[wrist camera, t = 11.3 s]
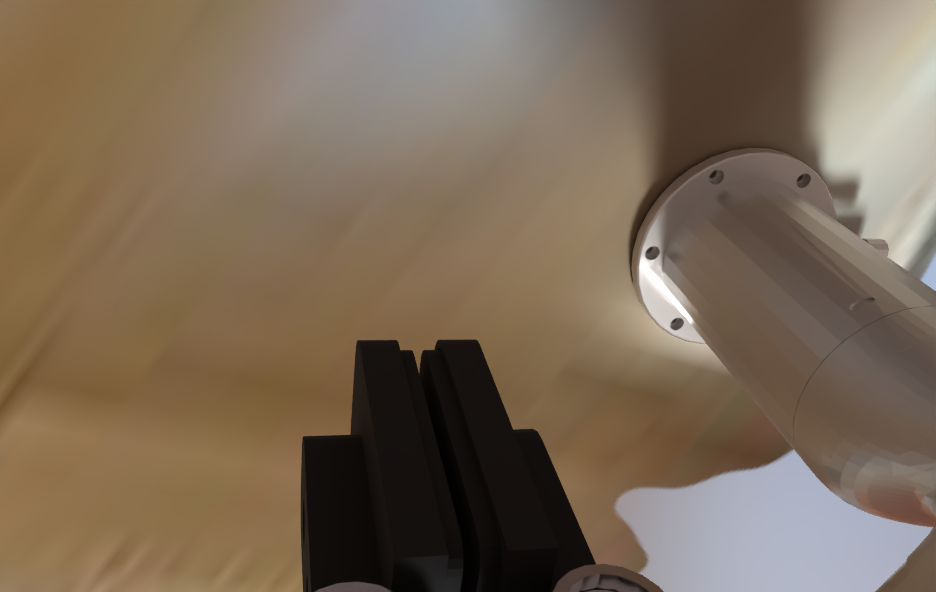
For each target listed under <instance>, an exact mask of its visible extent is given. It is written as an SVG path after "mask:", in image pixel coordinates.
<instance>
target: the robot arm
mask: <svg viewBox="0 0 936 592" xmlns="http://www.w3.org/2000/svg"><path fill="white" fill-rule="evenodd" d="M711 173H712V174H711ZM888 251H889V249H888V244H887V243H886V241H885V240H882V239H861V238H860V237H858V236H857V235H856V234H854V233H853V232H851V231H850V230H849V229H847V228H846V227H844V226H843V225H842V224H840V223H839V222H837V221H836V213H835V208H834V203H833V199H832V196H831V194H830V192H829V190H828V188H827V186H826V184H825V183H824V181H823V180H822V179H821V178H820V176H819V175H818V174H817V173H816V172H815V171H814V170H813V169H811V168H810V167H809V166H807V165H806V164H804V163H803V162H802V161H800V160H798V159H796V158H794V157H793V156H791V155H789V154H787V153H784V152H780V151H777V150H773V149H768V148H745V149H738V150H731V151H728V152H725V153H722V154H719V155H716V156H713V157H710V158H709V159H707V160H705V161H703V162H701V163H699V164H697V165H695V166H694V167H692V168H690V169H689V170H688V171H686V172H685V173H684V174H683V175H681V176H680V177H679V178H677V179H676V180H675V181H674V182H673V183H672V184H671V185H670V186H669V187H668V188H667V189H666V190H665V191H664V192H663V193H662V194H661V195H660V196H659V197H658V199H657V200H656V202H655V203H654V204H653V206H652V207H651V209H650V210H649V212H648V213H647V215H646V217H645V219H644V221H643V223H642V225H641V227H640V229H639V231H638V234H637V238H636V242H635V245H634V249H633V256H632V268H631V269H632V277H633V285H634V288H635V291H636V293H637V296H638V299H639V301H640V303H641V304H642V306H643V307H644V309H645V310H646V312H647V313H648V314H649V316H650V317H651V318H652V319H653V320H654V321H655V323H656V324H657V325H658V326H659V327H661V328H662V329H663V330H665V331H666V332H667V333H669V334H671V335H673V336H675V337H678V338H680V339H683V340H685V341H689V342H695V343H700V344H707V345H708V346H709V347H710V349H711V350H712V351H713V352H714V353H715V355H716V356H717V357H718V358H719V359H720V361H721V362H722V363H723V364H724V365H725V367H726V368H727V369H728V370H729V372H730V373H731V374H732V375H733V376H734V378H735V379H736V380H737V381H738V382H739V384H740V385H741V386H742V387H743V388H744V390H745V391H746V392H747V393H748V394H749V396H750V397H751V398H752V399H753V400H754V402H755V403H756V404H757V405H758V407H759V408H760V409H761V410H762V411H763V413H764V414H765V415H766V416H767V417H768V419H769V420H770V421H771V422H772V423H773V425H774V426H775V427H776V428H777V429H778V431H779V432H780V433H781V434H782V436H783V437H784V438H785V439H786V440H787V442H788V443H789V444H790V445H791V446H792V448H793V449H794V450H795V451H796V452H797V454H798V455H799V456H800V457H801V458H802V460H803V461H804V462H805V464H806V465H807V466H808V467H809V468H810V469H811V471H812V472H813V473H814V474H815V476H816V477H817V478H818V479H819V480H820V481H821V482H822V483H823V484H824V485H825V486H826V487H827V488H828V489H829V490H830V491H831V492H833V493H834V494H835V495H837V496H838V497H839V498H841V499H842V500H843V501H845V502H847V503H849V504H850V505H853V506H854V507H856V508H858V509H860V510H862V511H864V512H867V513H869V514H872V515H875V516H879V517H882V518H885V519H889V520H893V521H898V522H903V523H908V524H913V525H919V526H926V527H933V529H932V531H931V532H930V534H929V535H928V536H927V537H926V538H925V539H924V540H923V542H922V543H921V544H920V545H919V546H918V547H917V548H916V549H915V550H914V551H913V552H912V553H911V554H910V555H909V556H908V558H907V561H906V562H905V563H904V564H903V565H902V566H901V567H900V568H899V569H898V570H897V571H896V572H895V573H894V574H893V575H892V576H891V577H890V578H889V579H888V580H887V581H886V582H885V583H884V584H883V585H882V586H881V587H880V588H879V589H878V590H876V592H936V291H934V290H933V289H932V288H930V287H929V286H927V285H926V284H925V283H923V282H922V281H920V280H919V279H918V278H916V277H915V276H913V275H912V274H911V273H909V272H908V271H906V270H905V269H903V268H902V267H901V266H899V265H898V264H896V263H895V262H894V261H892V260H891V259H889V258H888V257H887V256H888ZM301 547H302V574H303V592H663V591H662V589H660V587H659V586H657V585H656V584H654V583H653V582H652V581H650V580H649V579H647V578H646V577H644V576H643V575H641V574H638V573H636V572H634V571H631V570H629V569H626V568H624V567H619V566H613V565H607V564H596V563H595V561H594V558H593V556H592V554H591V552H590V549H589V547H588V545H587V542H586V540H585V538H584V535H583V533H582V531H581V528H580V526H579V524H578V522H577V519H576V517H575V515H574V512H573V510H572V508H571V505H570V503H569V501H568V498H567V496H566V494H565V492H564V489H563V487H562V485H561V482H560V480H559V478H558V475H557V473H556V471H555V468H554V466H553V464H552V462H551V459H550V457H549V455H548V452H547V450H546V448H545V445H544V443H543V441H542V439H541V437H540V435H539V434H538V432H537V431H535V430H534V429H519V430H513V428H512V426H511V423H510V421H509V418H508V415H507V413H506V410H505V408H504V405H503V403H502V400H501V398H500V395H499V393H498V390H497V387H496V385H495V382H494V380H493V377H492V375H491V372H490V370H489V367H488V365H487V362H486V359H485V357H484V354H483V352H482V349H481V347H480V344H479V342H478V341H477V340H438V341H437V343H436V346H435V350H424V351H423V352H422V356H421V363H420V372H418V368H417V364H416V361H415V357H414V353H413V351H412V350H400V348H399V344H398V341H397V340H358V341H357V345H356V354H355V370H354V386H353V402H352V418H351V435H334V436H303V441H302V467H301Z"/></svg>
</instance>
